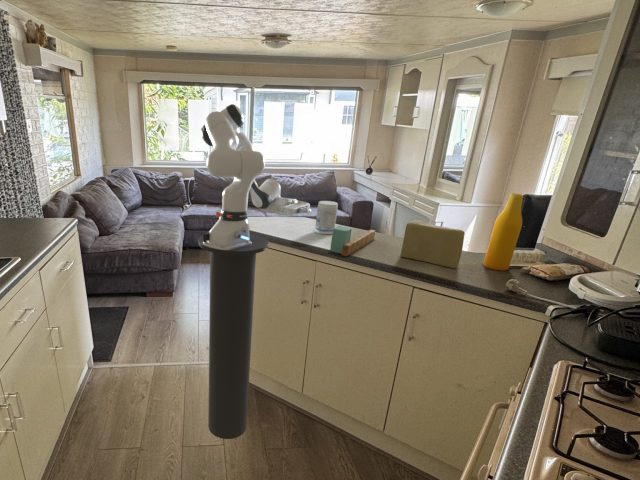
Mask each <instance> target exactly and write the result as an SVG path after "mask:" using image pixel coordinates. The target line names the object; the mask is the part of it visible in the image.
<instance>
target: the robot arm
mask: <svg viewBox="0 0 640 480" xmlns="http://www.w3.org/2000/svg"><path fill="white" fill-rule="evenodd" d="M244 123H245V117H244V113H243V111H242V109H241V108H240V107H239V106H237V105H236V104H233V103H232V104H229V105H227V106H225V108H223V109H222V110H221V111H216V110H215V111H212V112H210V113H209V114H208V115H207V116H206V118H205V124H203V126H202V127H201V129H200V136H201V138H202V141H203V142H204V143H205V144H206V145H208V146H209V147H213V150H212V151H211V152H210V153H209V154H208V156H207V158H206V162H205V163H206V164H205V165H206V170H207V171H208V173H209V174H210V175H211V176H212V177H217V178H223V179H224V178H225V179H226V178H227V179H228V178H233V181H232V182H231V183H230V184H229V185H228V186H226V187H225V188H223V191H222V199H221V209H220V211H216V212H215V216H216V217H218V218H219V219H218V220H217V221H216V222H215V224H214V225H213V226H212V228H211V229H210V230H208V231H206V232H204V233H202V236H203V241H204V242H203V245H205V246H207V247H210V248H214V249H219V250H232V249H236V248H240V247H244V246H248V245H251V244H252V242H251V241H250V233H251V232H250V224H249V222H248V218H249V209H248V203H249V198H250V201H251V204H252V205H253V206H254V207H255V208H257V209H258V210H260V211H262V212H264V213H269V214H276V215H280V216H284V217H285V216H286V217H293V216H297V215H299V214H310V213H311V212H312V209H311V208H310V207H311V204H310V203H309V202H307V201H302V200H297V198H288V197H282V196H281V194H282V188H281V184H280V183H279V181H278V180H276V179H275V178H271V177H270V178H267V179H266V180H265V181H263V182H262V183H261V185H260V186H259V185H258V183H257V181H256V179H257V178H258V177H259V176H260V175H261V174H262V173H263V171H264V170H265V167H266V160H265V158H264V155H263V153H262V152H260V151H257V150H255V147H254V145H253V144H252V142H251V141H250V139H249V137H248V136H247V134H245V132H244V131H243V130H242V129H243V128H244V127H243V125H244ZM206 240H207V241H206Z"/></svg>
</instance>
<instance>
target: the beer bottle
mask: <svg viewBox="0 0 640 480" xmlns="http://www.w3.org/2000/svg"><path fill="white" fill-rule="evenodd" d="M523 201H524V194H521V193H510V195H509V197H508V199H507V202H506V204H505V207H504V209H503V210H502V211H501V212H500V214H499V215H498V216H497V218H495V219H496V220H495V222H494V224H493V228H492V231H491V235H490V238H489V239H490V240H489V242H488V246H487V250H486V253H485V256H484V260H483V266H484V267H485V268H487V269H490V270H494V271H503V272H504V271H507V270H509V268H510V266H511V263H512V260H513V256H514V253H515V250H516V247H517V243H518V239H519V236H520V233H521V230H522V228H523V216H522V205H523Z"/></svg>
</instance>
